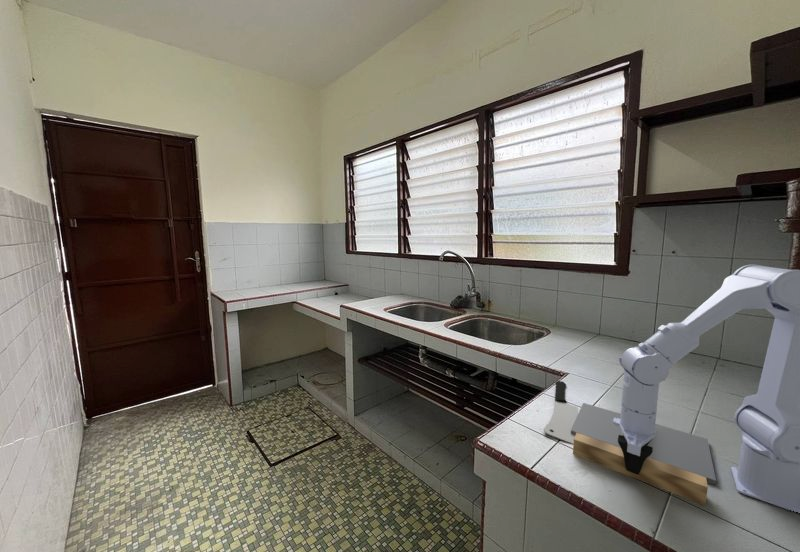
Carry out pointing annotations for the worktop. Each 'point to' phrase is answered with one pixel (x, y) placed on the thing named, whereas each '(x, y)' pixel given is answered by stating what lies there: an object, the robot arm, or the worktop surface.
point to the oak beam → (643, 469)
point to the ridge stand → (666, 443)
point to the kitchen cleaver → (562, 416)
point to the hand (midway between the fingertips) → (633, 466)
